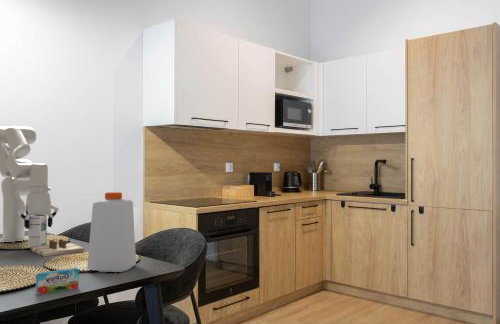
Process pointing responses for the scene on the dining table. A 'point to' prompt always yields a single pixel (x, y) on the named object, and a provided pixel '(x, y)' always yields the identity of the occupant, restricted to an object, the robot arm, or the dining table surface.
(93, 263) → the plastic bottle
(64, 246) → the peg stand
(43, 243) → the syrup box
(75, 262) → the dining table surface
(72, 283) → the yogurt
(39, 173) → the robot arm
